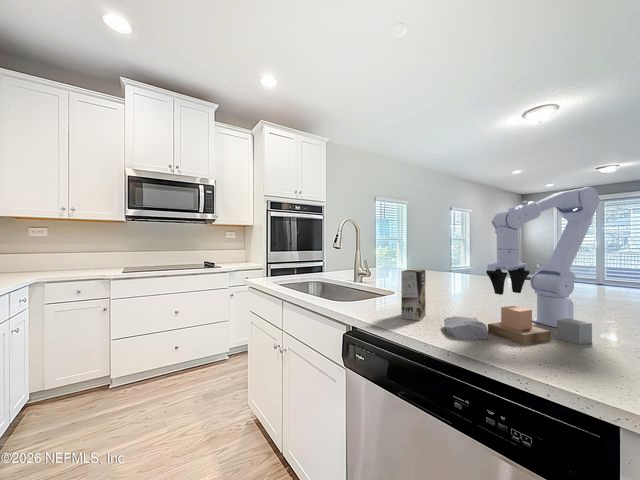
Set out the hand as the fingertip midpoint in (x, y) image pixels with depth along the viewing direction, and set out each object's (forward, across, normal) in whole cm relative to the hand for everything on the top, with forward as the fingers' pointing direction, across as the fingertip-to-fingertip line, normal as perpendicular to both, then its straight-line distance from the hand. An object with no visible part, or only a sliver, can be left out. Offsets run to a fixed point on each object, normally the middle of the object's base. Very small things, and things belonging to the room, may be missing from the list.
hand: (507, 293), depth 86 cm
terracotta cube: (+7, +7, +8) cm, 13 cm away
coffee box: (+10, +21, -18) cm, 29 cm away
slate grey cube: (+10, -4, +15) cm, 18 cm away
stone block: (+10, +18, 0) cm, 21 cm away
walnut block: (+10, +7, +8) cm, 15 cm away
